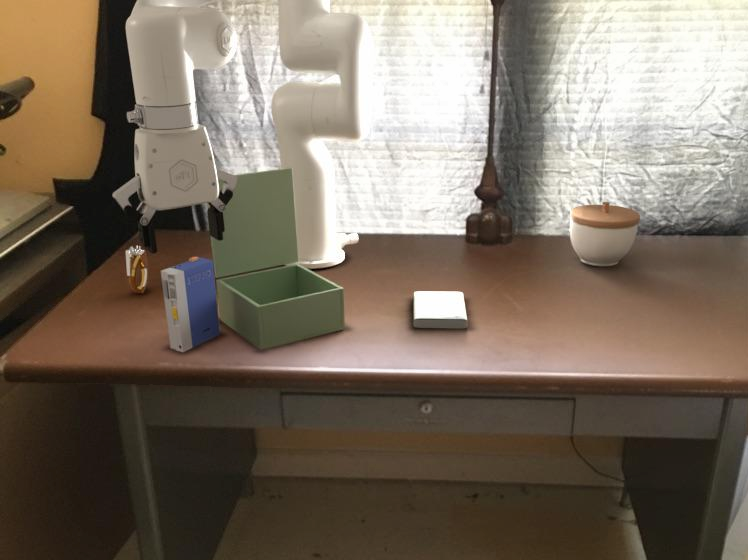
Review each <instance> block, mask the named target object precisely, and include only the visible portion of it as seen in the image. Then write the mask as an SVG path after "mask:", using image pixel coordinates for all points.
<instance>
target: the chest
mask: <svg viewBox="0 0 748 560" xmlns="http://www.w3.org/2000/svg"><path fill="white" fill-rule="evenodd" d="M215 284H216V294H217V304H218V314H219V321H221V322H222V323H224V324H225V325H226V326H228V327H229V328H230V329H232V330H233V331H235V332H236V333H237V334H238V335H240V336H241V337H243V338H244V339H245V340H246V341H248V342H249V343H251V344H252V345H253V346H255V347H256V348H257V349H259V350H261V351H262V350H267V349H272V348H274V347H279V346H283V345H288V344H291V343H295V342H298V341H299V342H300V341H302V340H307V339H310V338H314V337H315V338H316V337H319V336H324V335H327V334H331V333H335V332H339V331H343V330H345V328H346V326H345V325H346V322H345V321H346V320H345V319H346V318H345V289H344V287H342V286H340V285H339V284H337V283H335V282H333V281H331V280H330V279H327V278H325V277H324V276H322V275H320V274H318V273H316V272H315V271H312V269H307V268H305V267H303V266H301V265H299V264H294V265H289V266H286V265H283V266H278V267H274V268H268V269H263V270H257V271H252V272H247V273H242V274H237V275H233V276H227V277H224V278H223V277H222V278H219V279H218V278H217V279H215Z"/></svg>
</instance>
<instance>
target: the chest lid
mask: <svg viewBox="0 0 748 560" xmlns="http://www.w3.org/2000/svg"><path fill="white" fill-rule="evenodd" d="M234 175H235V176H236V177H237V178H238V181H237V184H236V186H235V189H234V191H233V197H232V198H231V200H230V201H229V202H228V204H227V205H226V210H225V211H224V212H223V218H224V228H225V231H224V232H223V240H221V241H219V240H217V239H215V238H213V237H212V236H210V243H211V251H212V260H213V268H214V278H217V279H218V278H223V277H229V276H232V275H233V276H235V275H240V274H245V273H250V272H255V271H260V270H265V269H270V268H273V267H274V268H275V267H280V266H286V265H285V264H290V263H295V262H298V247H297V232H296V218H295V203H294V188H293V173H292V168H284V169H281V168H278V169H269V170H261V171H255V172H246V173H239V174H234ZM218 185H219V192H220V191H221V189H222V188H223V185H224V181H223V180H220V179H218ZM206 207H207V209H208V208H210V205H209V204H208V203H206Z"/></svg>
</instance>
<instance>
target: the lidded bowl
mask: <svg viewBox="0 0 748 560" xmlns="http://www.w3.org/2000/svg"><path fill="white" fill-rule="evenodd" d="M569 212H570V213H569V218H570V220H569V238H570V239H569V240H570V244H571V247H572V249H573V251H574V252H575V254H576V255H577V256H578V257H579V260H580V262H582V263H584V264H586V265H590V266H596V267H610V266H611V267H612V266H616V265H618V264H619V263H620V261H621V260H623V259H624V258H625V257H626V256H627V255H629V253H630V251H631V250H632V248H633V246H634V244H635V241H636V238H637V233H638V230H639V223H640V220H641V215H640V213H639V212H637V211H636V210H634V209H632V208H628V207H624V206H619V205H614V204H613V205H612V204H610V201H602V204H584V205H579V206H576V207H573V208H572V209H571V210H570V211H569Z"/></svg>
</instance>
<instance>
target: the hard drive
mask: <svg viewBox="0 0 748 560" xmlns="http://www.w3.org/2000/svg"><path fill="white" fill-rule="evenodd" d="M413 327H414V328H418V329H466V328H468V316H467V309H466V303H465V298H464V293H463V291H462V292H461V291H431V290H429V291H426V290H425V291H420V290H419V291H414V292H413Z"/></svg>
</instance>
